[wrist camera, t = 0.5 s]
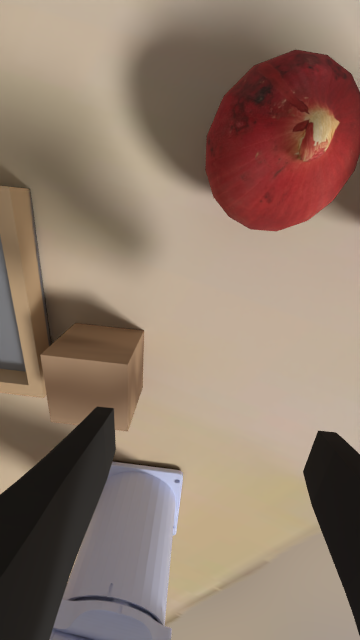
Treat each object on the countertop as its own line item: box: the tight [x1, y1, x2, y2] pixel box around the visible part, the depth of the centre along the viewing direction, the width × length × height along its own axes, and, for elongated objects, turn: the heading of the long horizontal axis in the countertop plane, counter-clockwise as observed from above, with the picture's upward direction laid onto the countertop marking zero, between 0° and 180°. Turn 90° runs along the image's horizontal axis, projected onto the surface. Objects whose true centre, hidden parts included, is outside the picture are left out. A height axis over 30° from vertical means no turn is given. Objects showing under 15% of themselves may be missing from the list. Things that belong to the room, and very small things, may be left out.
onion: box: [205, 50, 360, 231], centre depth 10 cm, size 6×6×8 cm
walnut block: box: [40, 323, 144, 431], centre depth 18 cm, size 5×5×4 cm
